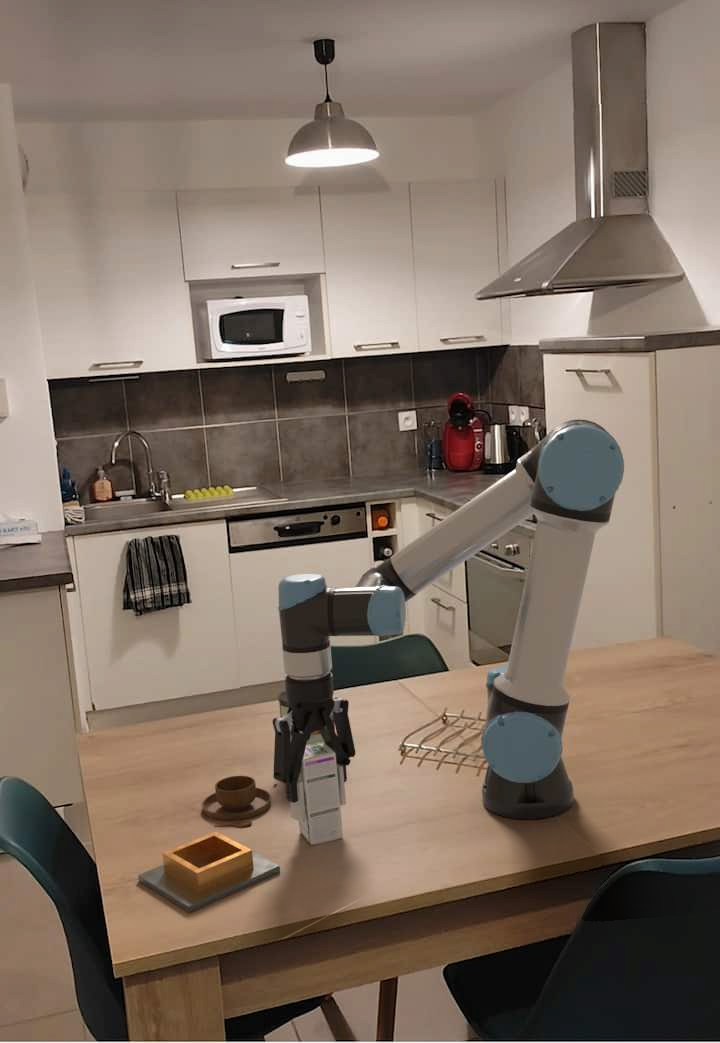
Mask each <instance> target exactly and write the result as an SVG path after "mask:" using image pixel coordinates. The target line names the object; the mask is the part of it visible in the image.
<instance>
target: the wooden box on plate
mask: <svg viewBox="0 0 720 1043" xmlns="http://www.w3.org/2000/svg"><path fill="white" fill-rule="evenodd" d="M161 855H162V862H163V864H161V865H159V866H156V867H154V868H152V869H149V870H147V871H145V872H142V873H139V874H138V876H137V877H138V878H137V879H138V882H139V883H141V884H142V885H144V886H146V887H147V888H149V889H150V890H152V891H153V892H155V893H156V894H158V895H159V896H162V898H165V899H166V900H168V901H169V902H171V903H173V904H174V905H176V906H177V907H179V908H180V909H182V910H183V911H185V912H186V913H188V914H190V913H192V912H195V911H197V910H200V909H201V908H203V907H206V906H208V905H210V904H212V903H215V902H216V901H219V900H222V899H223V898H226V897H228V896H231V895H232V894H235V893H237V892H239V891H242V890H243V889H245V888H248V887H251V886H252V885H255V884H256V883H259V882H262V881H263V880H266V879H268V878H271V877H272V876H274V875H277V874H279V873H281V867H280V865H279V864H277V863H275V862H273V861H271V860H269V859H267V858H265V857H264V856H262V855H260V854H258V853H256V852H253V850H252V849H251V848H249V847H247V846H245V845H243V844H241V843H239V842H237V841H236V840H234V839H232V838H229V837H227V836H226V835H223V834H221V833H220V832H217V831H213V832H212V833H209V834H206V835H204V836H202V837H199V838H196V839H195V840H191V841H189V842H187V843H184V844H182V845H179V846H177V847H174V848H172V849H169V850H166V851H164V852H162V854H161Z"/></svg>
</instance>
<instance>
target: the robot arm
mask: <svg viewBox="0 0 720 1043" xmlns="http://www.w3.org/2000/svg"><path fill="white" fill-rule="evenodd" d="M516 460H517V461H516V467H515V468H514V469H513V470H512V471H510V472H508V473H507V474H506V475H505V476H503V477H501V479H498V480H497V481H496V482H495V483H493V484H492V485H490V486H489V487H488V488H487V489H484V490H483V491H482V492H480V493H479V494H478V495H476V496H475V497H473V498H472V499H471V500H469V501H468V502H467V503H465V504H464V505H462V506H460V507H459V508H458V509H457V510H455V511H454V512H452V513H451V514H450V515H448V516H446V517H445V518H444V519H442V520H440V521H439V522H438V523H437V524H435V525H434V526H432V527H431V528H429V529H428V530H426V531H425V532H424V533H422V534H421V535H420V536H418V537H417V538H415V539H414V540H412V541H411V542H410V543H408V544H407V545H406V546H404V547H403V548H401V549H400V550H398V551H397V552H396V553H394V554H393V555H391V556H390V557H389V558H387V559H386V560H385V561H383V562H382V563H380V564H378V565H377V566H374V567H371V568H370V569H368V570H367V571H366V572H365V573H364V574H362V576H361V578H360V579H359V581H358V582H357V584H356V585H355V587H353V586H352V587H328V584H327V583H326V578H325V577H324V576H323V575H321V574H319V573H318V574H317V573H315V574H314V573H313V574H312V573H300V574H294V575H293V574H292V575H289V576H286V577H284V578H283V579H282V580H280V581H279V584H278V588H277V589H278V607H277V610H278V614H279V624H280V633H281V642H282V643H281V646H282V647H281V648H282V659H283V671H284V673H285V674H286V675H285V677H284V687H285V691H286V697H287V700H288V703H289V708H288V711H287V715H285V716H283V717H281V718H280V717H274V718H273V719H272V725H273V729H274V730H273V731H274V748H273V749H274V752H273V753H274V755H273V774H272V775H273V776H272V777H273V779H274V780H276V781H279V782H280V783H282V784H284V785H285V786H284V787H285V794H286V796H285V797H286V801H288V802H290V804H289V805H290V816H291V819H293V820H295V821H297V822H299V821H300V822H305V821H306V816H305V803H304V791H303V782H302V781H300V780H298V779H299V774H300V770H301V766H302V759H303V757H304V753H305V748H306V744H307V741H308V740H309V739H310V736H311V733H313V732H314V731H316V730H319V731H320V733H321V735H322V738H323V740H324V742H325V744H326V745H327V746H328V747H329V748H330V749H332V750H333V751H334V752H335V754H336V765H337V776H338V786H339V797H340V806H345V805H346V804H347V803H346V791H345V790H346V789H345V788H346V787H345V783H347V780H348V777H347V776H348V775H347V774H348V773H347V766H350V764H351V762H352V761H351V758H354V757H355V756H356V748H355V743H354V739H353V737H354V736H353V733H352V728H351V724H350V723H351V722H350V718H349V703H350V702H349V700H348V699H344V698H342V697H338V696H336V697H334V698H332V695H333V696H334V693H335V692H334V691H335V690H334V681H333V680H334V678H333V673H332V672H331V670H332V669H333V663H332V662H333V661H332V650H331V640H330V639H331V638H330V637H366V636H367V637H371V636H374V637H375V636H376V637H385V636H393V635H399V634H402V632H403V631H404V630H405V626H406V625H405V624H406V616H407V614H406V603H407V602H408V601H410V600H411V599H412V598H414V597H415V596H416V595H418V594H419V593H420V592H422V591H423V590H425V589H426V588H428V587H429V586H430V585H432V584H434V583H435V582H436V581H438V580H439V579H441V578H443V577H444V576H445V575H446V574H448V573H450V572H451V571H452V570H454V569H456V568H457V567H459V565H461V564H463V563H464V562H465V561H467V560H468V559H470V558H471V557H473V556H474V555H476V554H478V553H479V552H480V551H482V550H483V549H485V548H487V547H488V546H489V545H490V544H492V543H494V542H495V541H496V540H498V539H499V538H501V537H502V536H503V535H505V534H507V533H508V532H509V531H511V530H512V529H514V528H515V527H516V526H518V525H519V524H521V523H522V522H524V521H526V520H527V519H529V518H530V517H531V516H532V515H534V516H535V518H536V520H537V522H536V527H535V530H534V531H535V532H534V536H533V537H534V538H533V541H532V546H531V552H530V556H529V560H528V567H527V570H526V576H525V579H524V580H525V581H524V585H523V590H522V594H521V600H520V605H519V608H518V614H517V618H516V624H515V629H514V633H513V638H512V643H511V648H510V653H509V657H508V662H507V665H502V666H497V667H494V668H492V669H490V670H489V671H488V672H487V674H486V683H485V687H486V689H487V707H486V708H487V710H486V716H485V723H484V729H483V731H482V733H481V734H482V735H481V739H480V741H481V742H480V744H481V749H482V753H483V757H484V759H485V761H486V763H487V765H488V766H487V770H486V773H485V777H484V782H483V783H482V788H481V793H482V794H481V795H482V799H481V800H482V804H483V805H484V807H485V808H486V809H487V810H489V811H490V812H492V813H493V814H496V815H499V816H502V817H506V818H511V819H519V820H537V819H544V818H545V819H547V818H550V817H554V816H557V815H560V814H562V813H564V812H567V811H568V810H569V809H571V807H572V806H573V804H574V802H575V801H574V800H575V797H574V796H575V795H574V793H575V792H574V787H573V783H572V781H571V780H570V779H569V776H568V775H569V774H568V772H567V768H566V766H565V763H564V759H563V756H562V755H563V748H564V747H563V740H562V738H563V734H564V728H565V723H566V719H567V713H568V709H569V704H570V700H571V695H570V694H569V692H568V691H567V689H566V688H565V687H564V685H563V683H564V679H565V674H566V671H567V665H568V663H569V662H568V661H569V657H570V652H571V648H572V647H571V646H572V643H573V637H574V633H575V629H576V625H577V620H578V615H579V612H580V611H579V610H580V607H581V601H582V596H583V592H584V588H585V583H586V580H587V579H586V578H587V575H588V574H587V573H588V568H589V564H590V561H591V557H592V556H591V555H592V551H593V548H594V547H593V546H594V543H595V542H594V541H595V537H596V533H597V532H598V531H599V530H600V529H602V528H603V527H605V526H607V525H608V524H609V523H610V520H611V519H610V518H611V513H612V509H613V505H614V500H615V497H616V496H615V495H616V493H617V492H618V490H619V489H620V485H622V482H623V480H624V472H625V460H624V456H623V453H622V450H621V447H620V445H619V443H618V442H617V440H616V439H615V437H613V435H611V434H610V433H609V432H608V431H607V429H605V428H604V427H602V426H601V425H600V424H598V423H596V422H594V421H591V420H587V419H571V420H567V421H564V422H562V423H560V424H558V425H556V426H555V427H554V428H552V430H551V431H550V432H548V434H547V435H545V436H544V437H543V438H542V439H541V440H540V441H539V442H538V443H536V445H535V446H534V447H533V448H531V449H530V450H529V451H528V452H526V453H525V454H524V455H522V456H521V457H519V458H518V459H516ZM332 711H333V718H334V723H335V727H334V724H333V722H332V720H331V718H330V715H331V712H332ZM291 722H292V723H293V725H292V726H291ZM334 728H335V730H334ZM290 730H291V734H290ZM299 731H301V732H303V734H302V733H300V732H299ZM291 736H292V739H291ZM290 741H291V743H290Z"/></svg>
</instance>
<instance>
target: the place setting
mask: <svg viewBox="0 0 720 1043" xmlns="http://www.w3.org/2000/svg"><path fill="white" fill-rule="evenodd" d="M277 786H278V784H277V783H275V784H273V785H272V788H276V787H277ZM214 789H215V792H214V793H211V794H209V795H208V796H207V797H205V799H203V801H202V804H201V805H202V810H203V813H204V814H205V815H206V816H208V817H209V818H211V819H213V820H219V821H228V822H230V821H237V822H234V823H233V822H232V823H227V824H219V825H217V824H216V825H214V826H213V828H222V827H234V828H243V827H248V826H250V825H252V824H253V821H252V820H246V819H250V818H253V817H255V816H259V815H261V814H263V813H264V812H265V811H267V809H268V808H269V807H270V806H271V803H272V795H271V793H270V792H269V790H268V791H267V790H266V789H264V788H260V787H257V786H256V780H255V779H254V778H253V777H251V776H248V775H233V776H228V777H224V778H222V779H220V780H218V781H217V782H216V783H215V785H214ZM256 797H260V798H262V799H263V800H264V801H265V803H264V804H263V805H261V806H260V807H258V808H255V809H252V810H249V811H244V812H241V811H243V810H246V809H247V808H248V807H249V806H250V804H252V803H253V802H254V801H255V799H256ZM216 802H217V803H218V804H219V805H220V806H221V807H223V808H225V809H226V810H227V811H230V812H238V811H240V812H239V813H219V812H218V813H217V812H213V811H210V810H209V808H210V807H211V806H212V805H214V804H215V803H216Z"/></svg>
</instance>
